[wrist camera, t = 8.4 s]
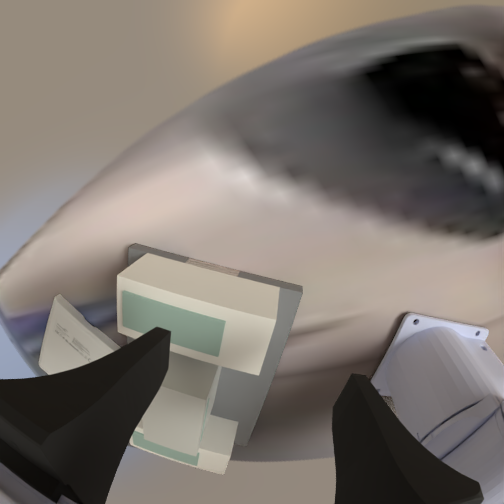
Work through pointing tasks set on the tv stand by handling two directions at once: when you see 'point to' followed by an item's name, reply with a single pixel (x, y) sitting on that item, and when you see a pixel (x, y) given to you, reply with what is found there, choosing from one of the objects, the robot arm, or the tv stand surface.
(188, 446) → the block
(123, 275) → the rail panel
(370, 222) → the tv stand surface
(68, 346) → the external hard drive
